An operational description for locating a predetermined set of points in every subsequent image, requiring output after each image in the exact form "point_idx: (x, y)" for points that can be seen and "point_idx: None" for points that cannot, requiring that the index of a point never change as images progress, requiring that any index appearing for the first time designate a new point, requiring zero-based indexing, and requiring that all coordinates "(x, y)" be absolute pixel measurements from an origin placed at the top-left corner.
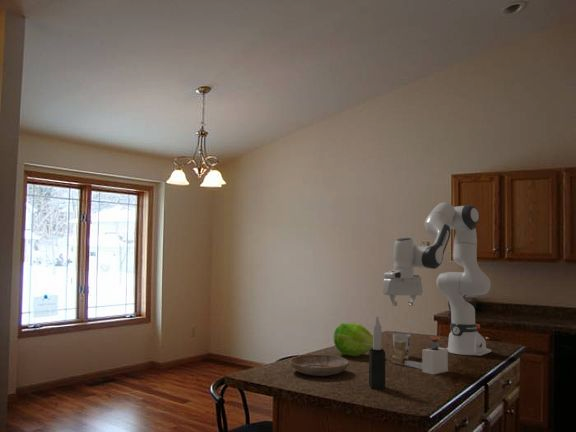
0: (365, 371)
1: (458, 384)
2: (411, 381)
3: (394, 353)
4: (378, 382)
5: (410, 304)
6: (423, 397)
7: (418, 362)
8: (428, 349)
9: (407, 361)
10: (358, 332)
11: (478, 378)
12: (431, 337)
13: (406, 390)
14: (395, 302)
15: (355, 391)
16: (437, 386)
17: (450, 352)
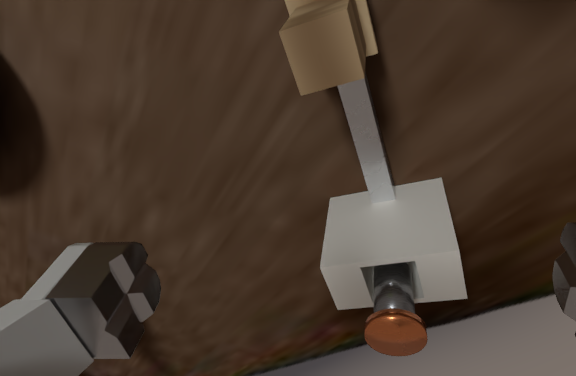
0: (96, 111)
1: (336, 332)
2: (216, 270)
3: (295, 10)
4: None
5: (567, 294)
6: (180, 357)
7: (377, 133)
8: (353, 276)
9: (338, 89)
10: None
11: (461, 319)
12: (370, 334)
13: (163, 317)
14: (95, 347)
15: (34, 282)
16: (263, 323)
17: None
